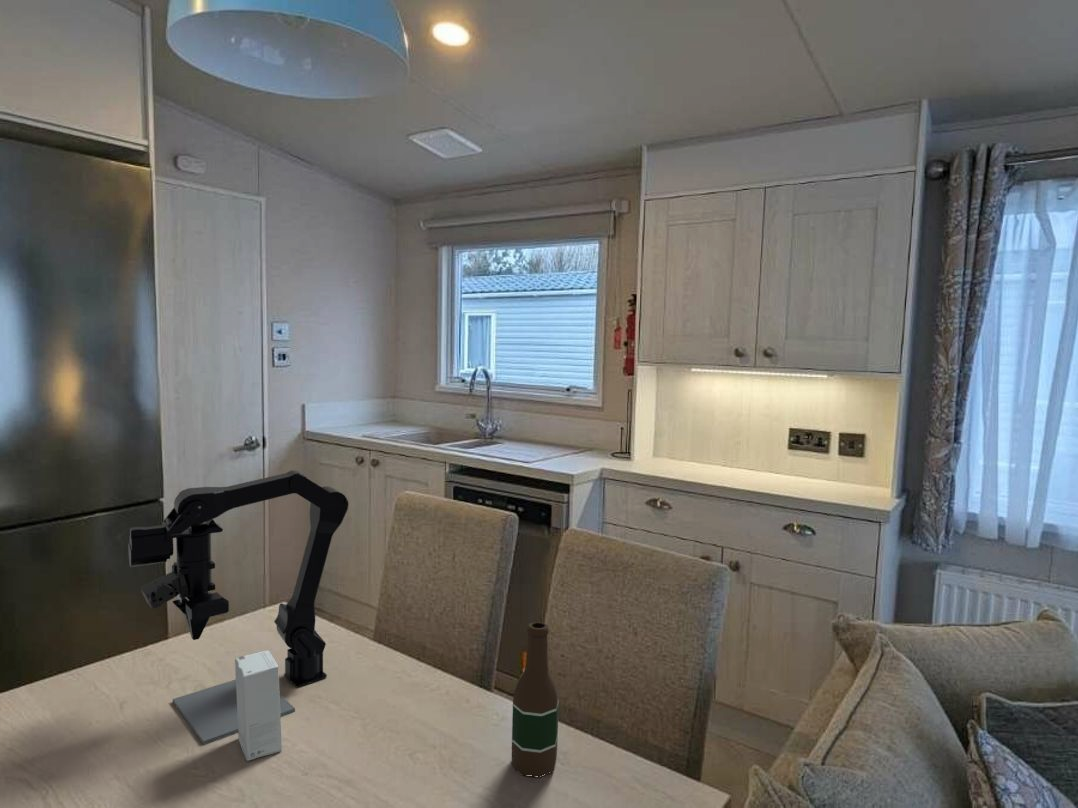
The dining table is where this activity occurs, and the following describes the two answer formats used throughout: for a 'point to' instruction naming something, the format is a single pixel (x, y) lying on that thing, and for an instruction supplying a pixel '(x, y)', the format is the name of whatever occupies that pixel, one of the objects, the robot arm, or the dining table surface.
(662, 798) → the dining table surface
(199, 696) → the mat
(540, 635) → the beer bottle
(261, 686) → the skincare box
